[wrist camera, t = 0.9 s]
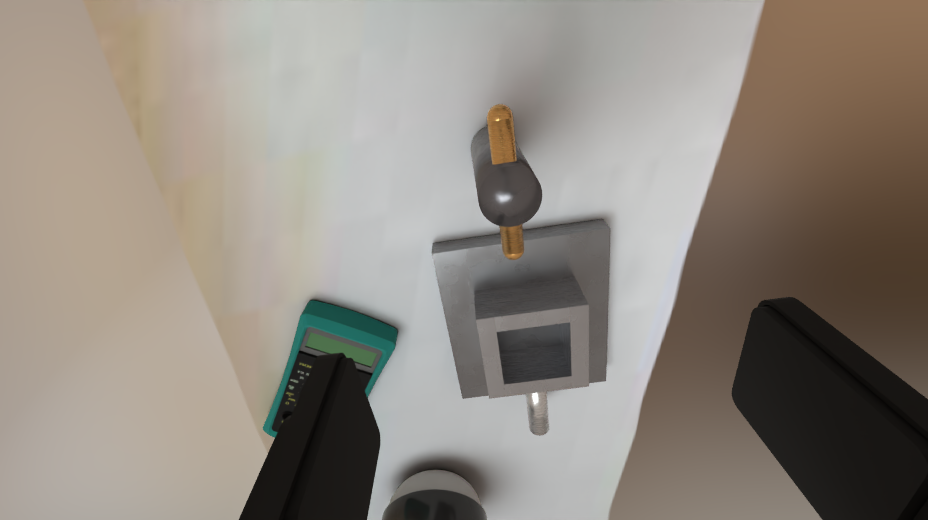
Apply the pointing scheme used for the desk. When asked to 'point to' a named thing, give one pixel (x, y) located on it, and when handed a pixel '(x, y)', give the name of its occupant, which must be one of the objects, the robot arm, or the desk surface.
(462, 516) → the pump dispenser
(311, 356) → the digital multimeter
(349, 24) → the desk surface
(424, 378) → the desk surface
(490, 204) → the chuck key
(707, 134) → the desk surface
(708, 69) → the desk surface
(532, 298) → the block
